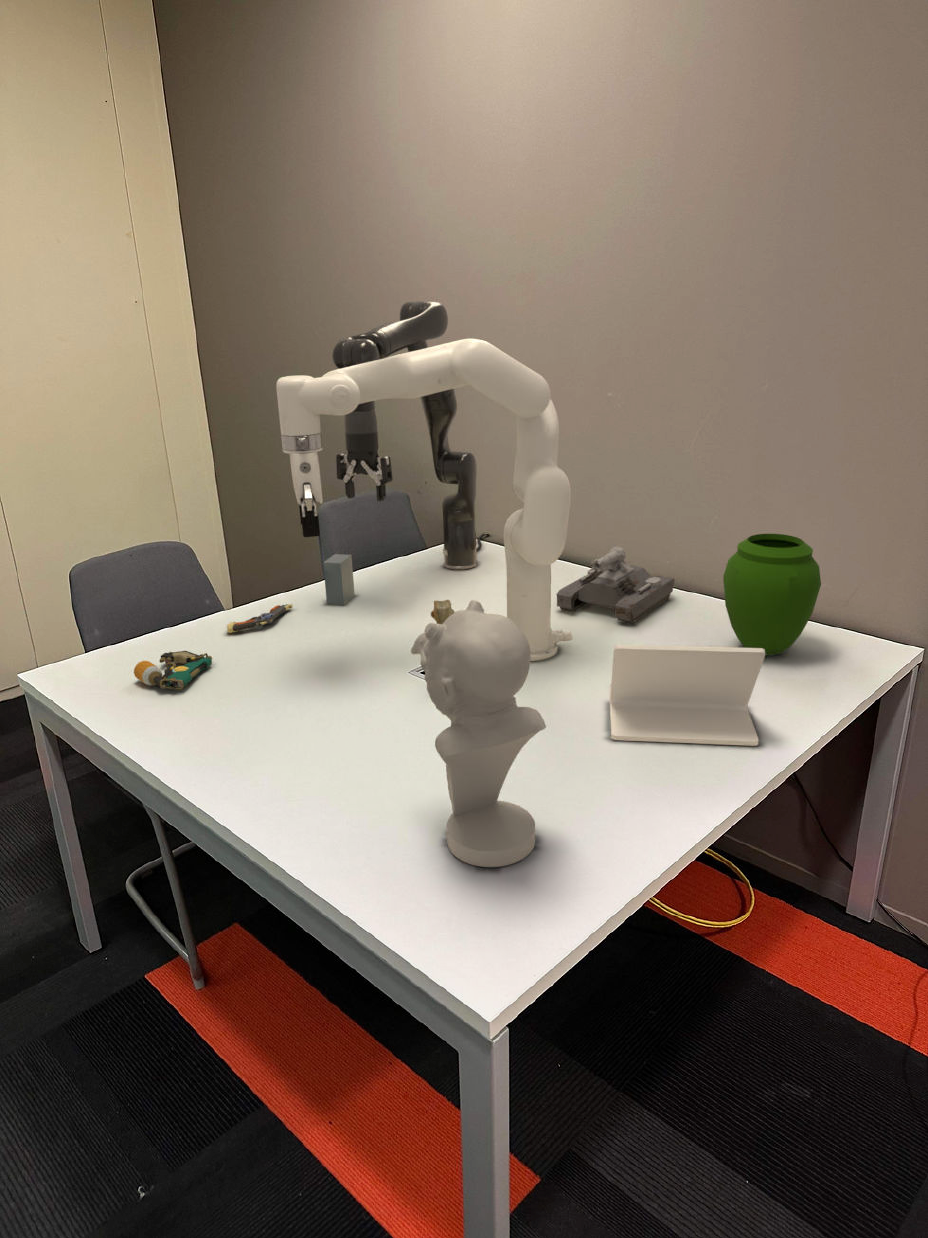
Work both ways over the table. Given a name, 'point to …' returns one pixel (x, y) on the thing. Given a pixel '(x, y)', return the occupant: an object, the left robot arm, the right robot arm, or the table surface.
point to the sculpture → (441, 611)
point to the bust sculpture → (481, 729)
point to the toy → (616, 588)
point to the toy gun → (258, 619)
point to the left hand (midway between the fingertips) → (365, 499)
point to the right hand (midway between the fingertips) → (310, 530)
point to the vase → (771, 590)
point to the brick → (339, 579)
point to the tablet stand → (683, 694)
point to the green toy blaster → (172, 669)
